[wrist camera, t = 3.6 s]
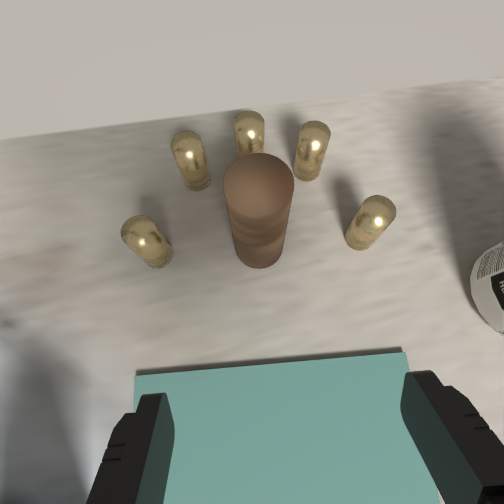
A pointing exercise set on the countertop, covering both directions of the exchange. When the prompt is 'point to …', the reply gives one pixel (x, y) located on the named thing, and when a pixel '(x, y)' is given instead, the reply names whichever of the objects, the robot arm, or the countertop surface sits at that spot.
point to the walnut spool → (258, 207)
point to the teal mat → (292, 434)
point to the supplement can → (490, 286)
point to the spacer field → (247, 142)
